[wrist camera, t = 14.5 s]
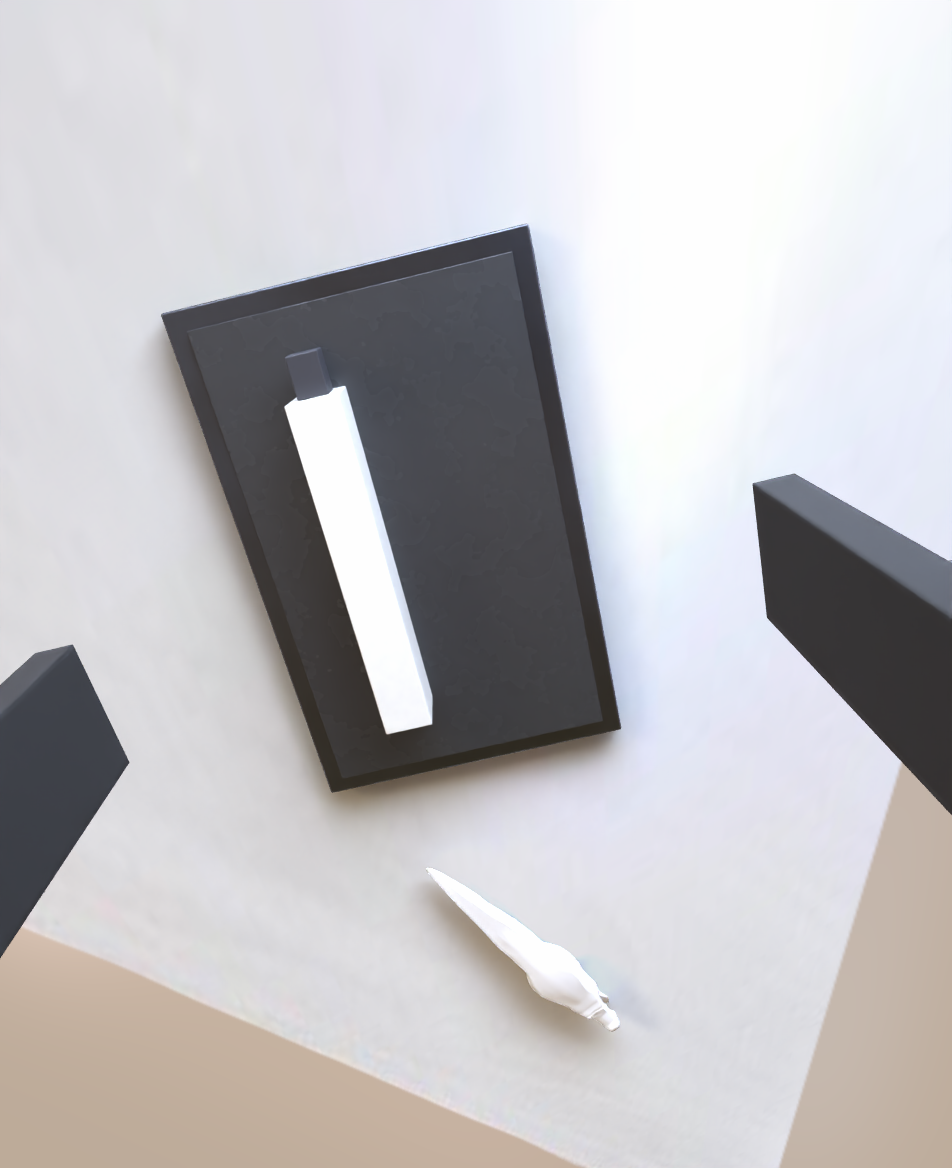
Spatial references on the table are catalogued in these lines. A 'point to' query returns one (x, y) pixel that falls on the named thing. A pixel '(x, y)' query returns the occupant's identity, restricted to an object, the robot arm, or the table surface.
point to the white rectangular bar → (358, 542)
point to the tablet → (415, 499)
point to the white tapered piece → (534, 956)
